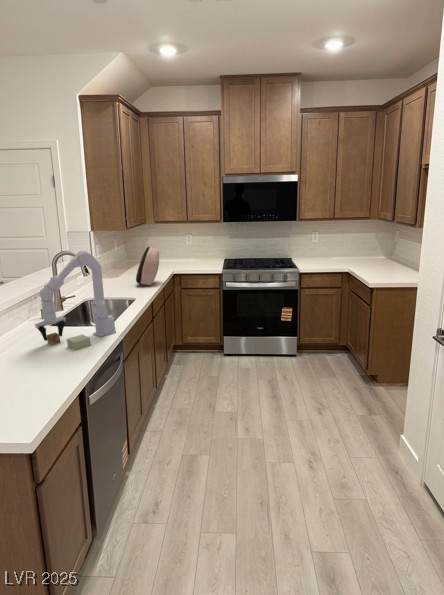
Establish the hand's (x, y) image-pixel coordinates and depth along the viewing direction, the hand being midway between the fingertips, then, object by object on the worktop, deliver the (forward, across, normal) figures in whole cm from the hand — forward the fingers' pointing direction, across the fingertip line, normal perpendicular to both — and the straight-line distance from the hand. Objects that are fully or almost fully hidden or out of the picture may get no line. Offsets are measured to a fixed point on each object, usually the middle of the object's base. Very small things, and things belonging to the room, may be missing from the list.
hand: (53, 338), depth 205 cm
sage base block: (+2, -6, +15) cm, 16 cm away
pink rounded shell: (+2, -108, -70) cm, 129 cm away
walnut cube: (+3, 0, 0) cm, 3 cm away
